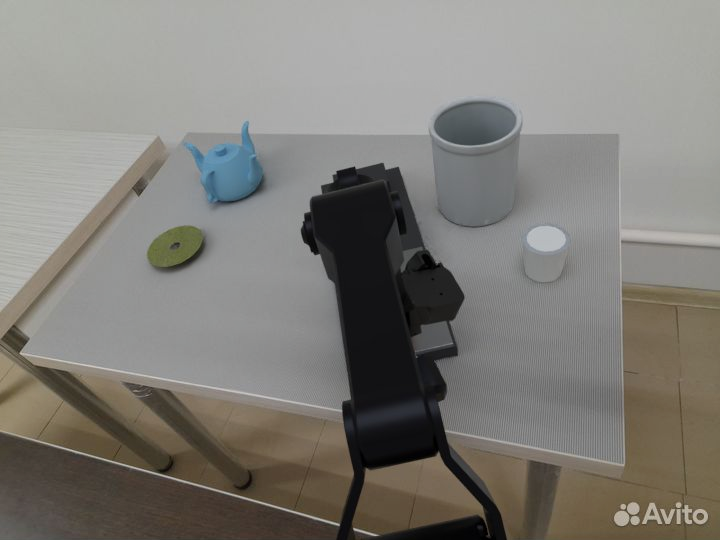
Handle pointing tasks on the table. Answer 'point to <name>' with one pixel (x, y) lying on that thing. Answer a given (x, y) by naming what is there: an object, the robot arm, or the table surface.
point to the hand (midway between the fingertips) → (393, 362)
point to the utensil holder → (476, 158)
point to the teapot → (229, 169)
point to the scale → (434, 336)
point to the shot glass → (545, 251)
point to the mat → (174, 246)
